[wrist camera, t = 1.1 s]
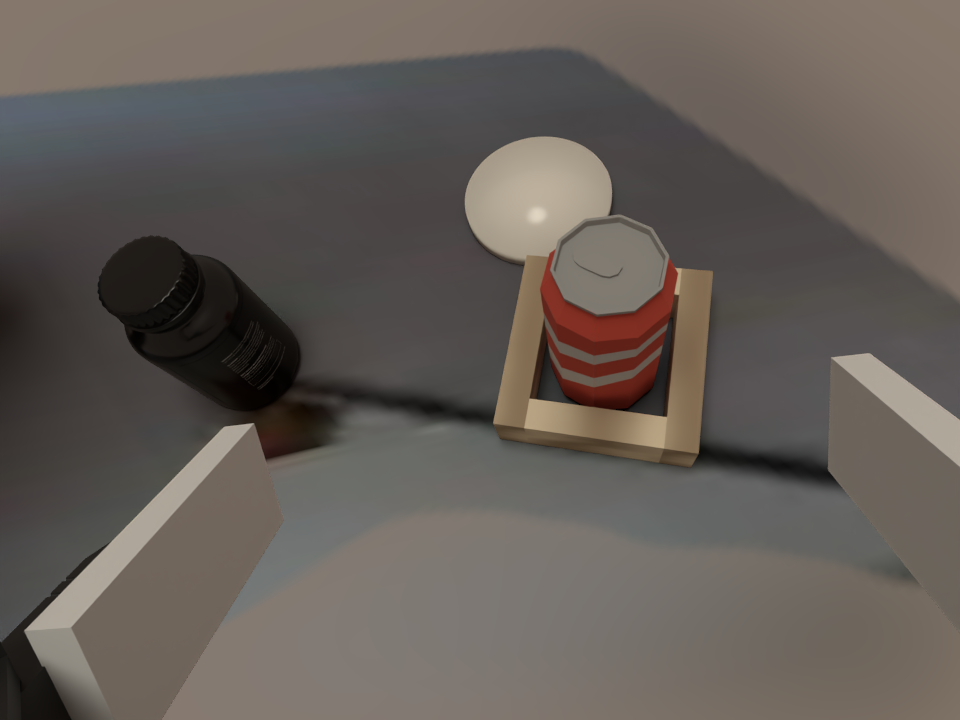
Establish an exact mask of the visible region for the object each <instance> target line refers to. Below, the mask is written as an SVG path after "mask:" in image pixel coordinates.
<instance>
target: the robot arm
mask: <svg viewBox="0 0 960 720" xmlns="http://www.w3.org/2000/svg"><path fill="white" fill-rule="evenodd" d="M828 470H829V472H830V473H831V474H832V475H833V477H834V478H835V479H836V480H837V481H838V483H839V484H840V485H841V486H842V488H843V489H844V490H845V491H846V493H847V494H848V495H849V496H850V498H851V499H852V500H853V501H854V503H855V504H856V505H857V506H858V508H859V509H860V510H861V511H862V513H863V514H864V515H865V516H866V518H867V519H868V520H869V521H870V523H871V524H872V525H873V526H874V528H875V529H876V530H877V531H878V532H879V534H880V535H881V536H882V537H883V539H884V540H885V541H886V542H887V544H888V545H889V546H890V547H891V549H892V550H893V551H894V552H895V554H896V555H897V556H898V557H899V559H900V560H901V561H902V562H903V564H904V565H905V566H906V567H907V569H908V570H909V571H910V572H911V574H912V575H913V576H914V577H915V578H916V580H917V581H918V582H919V583H920V585H921V586H922V587H923V588H924V590H925V591H926V592H927V593H928V595H929V596H930V597H931V598H932V600H933V601H934V602H935V603H936V605H937V606H938V607H939V608H940V609H941V611H942V612H943V613H944V614H945V616H946V617H947V618H948V619H949V621H950V622H951V623H952V624H953V626H954V627H955V628H956V629H957V630H958V632H959V633H960V420H959V419H958V418H956V417H955V416H953V415H952V414H951V413H949V412H948V411H947V410H945V409H944V408H943V407H941V406H940V405H939V404H937V403H936V402H935V401H933V400H932V399H930V398H929V397H928V396H926V395H925V394H924V393H922V392H921V391H920V390H918V389H917V388H916V387H914V386H913V385H912V384H910V383H909V382H907V381H906V380H905V379H903V378H902V377H901V376H899V375H898V374H897V373H895V372H894V371H893V370H891V369H890V368H889V367H887V366H886V365H884V364H883V363H882V362H880V361H879V360H878V359H876V358H875V357H874V356H872V355H871V354H870V353H867V354H858V355H849V356H840V357H832V358H831V379H830V416H829V453H828ZM283 521H284V518H283V515H282V512H281V509H280V506H279V502H278V499H277V496H276V493H275V489H274V486H273V483H272V480H271V476H270V473H269V470H268V467H267V464H266V460H265V457H264V454H263V451H262V447H261V444H260V441H259V438H258V435H257V431H256V428H255V425H254V423H253V424H244V425H235V426H226V427H223V429H222V430H221V431H220V432H219V433H218V434H217V435H216V436H215V437H214V438H213V439H212V440H211V441H210V442H209V443H208V444H207V445H206V446H205V447H204V448H203V449H202V450H201V451H200V452H199V453H198V454H197V455H196V456H195V457H194V458H193V459H192V460H191V461H190V462H189V463H188V464H187V465H186V466H185V467H184V468H183V469H182V470H181V471H180V472H179V473H178V474H177V475H176V476H175V477H174V478H173V480H172V481H171V482H170V483H169V484H168V485H167V486H166V487H165V488H164V489H163V490H162V491H161V492H160V493H159V494H158V495H157V496H156V497H155V498H154V499H153V500H152V501H151V502H150V503H149V504H148V505H147V506H146V507H145V508H144V509H143V510H142V511H141V512H140V513H139V514H138V515H137V516H136V517H135V518H134V519H133V520H132V521H131V522H130V523H129V524H128V525H127V526H126V527H125V528H124V529H123V531H122V532H121V533H120V534H119V535H118V536H117V537H116V538H115V539H114V540H113V541H111V542H110V543H108V544H107V545H105V546H104V547H102V548H101V549H99V550H98V551H96V552H95V553H93V554H92V555H90V556H89V557H87V558H86V559H85V560H84V561H83V562H82V563H81V564H80V565H79V566H78V567H77V568H76V569H75V570H74V571H73V572H72V573H71V574H70V575H69V576H68V577H67V578H66V581H63V582H62V583H61V584H60V585H59V586H58V587H57V588H56V589H55V590H54V591H53V592H52V593H51V597H47V598H46V599H45V600H44V601H43V602H42V603H41V604H40V605H39V606H38V607H37V608H36V609H35V610H34V611H33V612H32V613H31V614H30V615H29V616H27V617H26V618H25V619H24V620H23V621H22V622H21V623H20V624H19V625H18V626H17V627H16V628H15V629H14V630H13V631H12V632H11V633H10V634H9V635H8V636H7V637H6V638H5V639H4V640H3V641H2V642H0V720H162V718H163V717H164V715H165V713H166V711H167V710H168V708H169V707H170V705H171V704H172V702H173V700H174V699H175V697H176V695H177V694H178V692H179V690H180V689H181V687H182V686H183V684H184V682H185V681H186V679H187V678H188V675H189V674H190V673H191V671H192V669H193V668H194V666H195V664H196V663H197V661H198V659H199V658H200V656H201V655H202V653H203V651H204V650H205V648H206V647H207V645H208V643H209V642H210V640H211V638H212V637H213V635H214V633H215V632H216V630H217V629H218V627H219V625H220V624H221V622H222V620H223V619H224V617H225V616H226V614H227V612H228V611H229V609H230V607H231V606H232V604H233V603H234V601H235V599H236V598H237V596H238V594H239V593H240V591H241V589H242V588H243V586H244V585H245V583H246V581H247V580H248V578H249V576H250V575H251V573H252V572H253V570H254V568H255V567H256V565H257V563H258V562H259V560H260V558H261V557H262V555H263V554H264V552H265V550H266V549H267V547H268V545H269V544H270V542H271V541H272V539H273V537H274V536H275V534H276V532H277V531H278V529H279V528H280V526H281V524H282V523H283Z"/></svg>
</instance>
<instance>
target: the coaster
mask: <svg viewBox="0 0 960 720" xmlns="http://www.w3.org/2000/svg"><path fill="white" fill-rule="evenodd" d="M611 204H612V186H611V181H610V177H609V174H608V172H607V170H606V168H605V166H604V165H603V163H602V162H601V161H600V160H599V158H598V157H597V156H596V155H595V154H593V153H592V152H591V151H590V150H588V149H587V148H585V147H584V146H582V145H580V144H577V143H575V142H572V141H569V140H566V139H562V138H556V137H533V138H527V139H522V140H519V141H516V142H513V143H510V144H508V145H506V146H504V147H502V148H500V149H498V150H497V151H495V152H494V153H492V154H491V155H490V156H488V157H487V158H486V159H485V160H484V161H483V162H482V163H481V164H480V165H479V167H478V168H477V169H476V170H475V172H474V173H473V175H472V177H471V179H470V181H469V183H468V186H467V190H466V195H465V210H466V215H467V218H468V222H469V225H470V228H471V230H472V232H473V235H474V236H475V238H476V239H477V241H478V242H479V243H480V244H481V245H482V246H483V247H484V248H485V249H486V250H487V251H488V252H490V253H491V254H493V255H494V256H496V257H498V258H500V259H502V260H504V261H507V262H510V263H514V264H518V265H525V261H526V256H527V255H532V256H544V257H549V254H550V253H551V252H552V251H553V250H555V249H556V246H557V242H558V239H560V238H561V237H562V236H564V235H565V234H566V233H567V232H569V231H570V230H571V229H573V228H574V227H575V226H576V225H578V224H579V223H580V222H582V221H583V220H584V219H588V218H596V217H604V216H610V212H611Z"/></svg>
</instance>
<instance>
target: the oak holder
mask: <svg viewBox="0 0 960 720" xmlns="http://www.w3.org/2000/svg"><path fill="white" fill-rule="evenodd" d="M548 258H549V257H544V256H532V255H527V256H526V261H525V266H524V271H523V276H522V281H521V286H520V291H519V296H518V302H517V307H516V312H515V317H514V322H513V327H512V332H511V337H510V342H509V347H508V352H507V357H506V362H505V367H504V372H503V377H502V382H501V387H500V392H499V397H498V402H497V407H496V412H495V417H494V422H493V424H494V426H495V429H496V431H497V433H498V435H499V437H500V439H505V440H512V441H518V442H525V443H531V444H538V445H545V446H551V447H558V448H565V449H571V450H578V451H584V452H591V453H598V454H604V455H611V456H617V457H624V458H631V459H637V460H644V461H651V462H657V463H664V464H670V465H677V466H684V467H690V468H691V466H692V465H693V463H694V461H695V459H696V457H697V456H698V454H699V443H700V430H701V417H702V404H703V391H704V379H705V366H706V353H707V340H708V327H709V315H710V302H711V289H712V276H713V271H704V270H692V269H681V268H675V269H676V270H677V272H678V277H677V282H676V287H675V293H674V298H673V303H672V308H671V313H670V317H669V318H673V326H672V336H671V346H670V356H669V366H668V376H667V386H666V396H665V406H664V416H663V417H662V416H654V415H647V414H640V413H632V412H625V411H618V410H610V409H603V408H596V407H588V406H581V405H574V404H566V403H559V402H552V401H544V400H537V394H538V389H539V383H540V377H541V371H542V366H543V360H544V354H545V349H546V343H547V333H546V326H545V319H544V313H543V306H542V299H541V292H540V287H541V283H542V279H543V276H544V272H545V269H546V265H547V261H548Z"/></svg>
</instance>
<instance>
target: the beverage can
mask: <svg viewBox="0 0 960 720" xmlns="http://www.w3.org/2000/svg"><path fill="white" fill-rule="evenodd" d="M677 277H678V272H677V270H676V269H675V267H674V265H673V264H672V262H671V260H670V259H669V255H668V253H667V252H666V250H665V248H664V247H663V245H662V243H661V242H660V240H659V238H658V236H657V235H656V233H655V231H654V230H653V228H651V227H648V226H646V225H644V224H641V223H639V222H637V221H634V220H632V219H630V218H627V217H625V216H623V215H612V216H604V217H596V218H588V219H584V220H583V221H582V222H580V223H579V224H578V225H576V226H575V227H574V228H573V229H571V230H570V231H569V232H567V233H566V234H565V235H564V236H562V237H561V238H560V239H558V242H557V246H556V249H555V250H553V251H552V252H551V253H550V254H549V258H548V261H547V265H546V269H545V272H544V276H543V279H542V283H541V287H540V292H541V299H542V306H543V313H544V319H545V326H546V333H547V339H548V346H549V353H550V360H551V366H552V369H553V371H554V373H555V375H556V378H557V380H558V382H559V384H560V386H561V389H562V391H563V393H564V395H566V396H567V397H569V398H571V399H573V400H575V401H576V402H578V403H580V404H582V405H584V406H588V407H596V408H603V409H622V408H628V407H630V406H631V405H632V404H633V403H634V402H636V401H637V400H638V399H639V398H640V397H642V396H643V395H644V394H645V393H646V392H647V391H649V390H650V389H651V388H652V387H653V385H654V381H655V376H656V372H657V368H658V364H659V359H660V355H661V351H662V347H663V343H664V338H665V334H666V330H667V326H668V321H669V317H670V313H671V308H672V303H673V298H674V293H675V287H676V282H677Z"/></svg>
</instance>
